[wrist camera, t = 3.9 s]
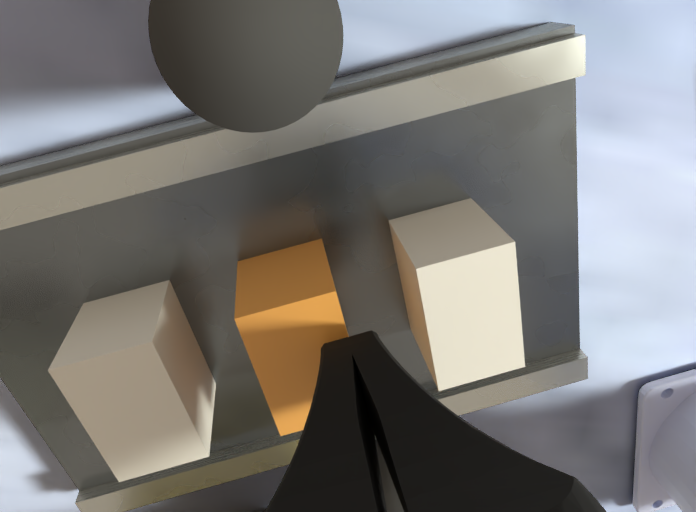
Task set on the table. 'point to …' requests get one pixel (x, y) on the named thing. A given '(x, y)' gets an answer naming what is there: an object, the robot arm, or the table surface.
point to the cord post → (247, 57)
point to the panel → (298, 236)
